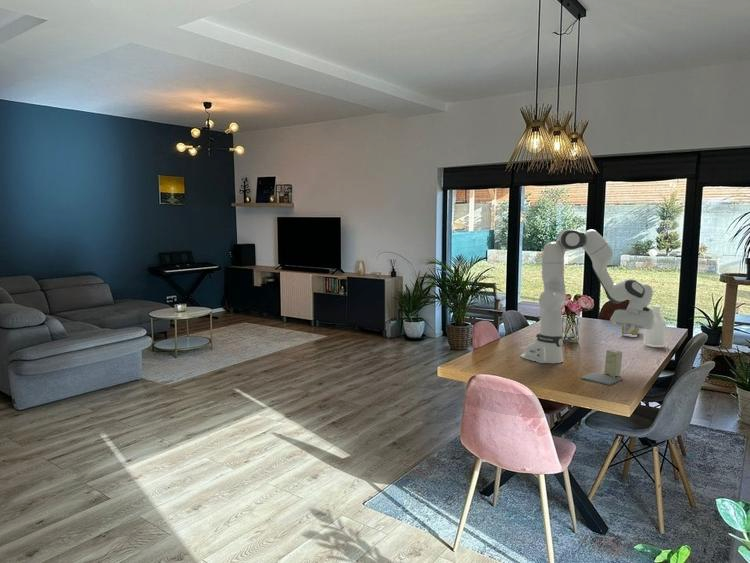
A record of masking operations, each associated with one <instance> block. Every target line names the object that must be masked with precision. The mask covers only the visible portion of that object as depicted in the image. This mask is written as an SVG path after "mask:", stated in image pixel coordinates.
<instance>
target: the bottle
mask: <svg viewBox="0 0 750 563" xmlns="http://www.w3.org/2000/svg"><path fill="white" fill-rule="evenodd" d="M651 309H652V311H653V313H654V317H655V318H654V324H653V327H652V329H650V330H649V329H643V343H646V344H652V345H663V344H664V345H665V340H666V329H667V320H666V319H665V318H664V317H663V315H662V314H661V312H660V311H661V305H656V304H655V305H654V304H653V305H652V306H651Z"/></svg>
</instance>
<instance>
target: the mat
mask: <svg viewBox="0 0 750 563" xmlns="http://www.w3.org/2000/svg"><path fill="white" fill-rule="evenodd" d="M580 378H581V379H580V380H583V379H585V380H584V381H588V380H589V382H592V381H594V382H593V383H596V382H598V383H597V384H601V383H602V384H601V385H605V384H607V385H606V386H609V385H610V386H612V385H615V384H617V383H619V382H621V381H620V380H622V379H623V380H624V378H623V377H620V376H617V377H614V376H610V375H607V374H605V373H599V372H595V371H593V372H591V373H588V374H586V375H583V376H580ZM623 380H622V381H623ZM618 381H619V382H618ZM616 382H617V383H616ZM614 383H615V384H614ZM611 384H612V385H611Z"/></svg>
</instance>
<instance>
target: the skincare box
mask: <svg viewBox="0 0 750 563" xmlns="http://www.w3.org/2000/svg"><path fill="white" fill-rule="evenodd" d="M622 358H623V351H621V350H616V349H613V348H611V349H606V354H605V364H604V374H605V375H607V374H609V376H610V375H612V376H617V377H621V370H622Z"/></svg>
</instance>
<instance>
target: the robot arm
mask: <svg viewBox="0 0 750 563" xmlns="http://www.w3.org/2000/svg"><path fill="white" fill-rule="evenodd" d="M579 248H581V249H583V250H584V251H585V252H586V254H587V255H588V256H589V258H590V260H591V263H592V264H591V267H592V270H593V272H594V274H595V276H596V277H597V279H598V281H599V283H600V285H601V287H602V288H603V290H604V293H605V295H606V298H607V299H608V300H609V302H611V303H613V304H621V303H623V302H625V301H627V300H628V301H629V303H628V305H627V307H626V309H620V308H618V309H615V310H614V312H613V313H612V315H611V317H610V318H609V319H610V323H611V324H612V325H613V326H614V325H616V326H621V327H622V326H624V333H631V331H632V330H634V329H635V328H639V329H643V330H644V329H649V330H650V329H652V327H653V324H654V318H655V317H654V313H653V308H650V307H649V305H650V303H651V300H652V298H653V293H654V291H653V289H652V287H651V285H649V284H648V283H645V282H643V283H641V282H638V281H637V280H636V279H634V278H628V279H625V280H623V281H620V282H618V283H615V282H614V281H613V279H612V277H611V275H610V274H609V272H608V270H607V269H608V268H607V267H608V265H609V264H610V262H611V260H612V258H613V253H614V252H613V249H612V247H611V246H610V244H609V243H608V242H607V241H606V239H605V238H604V237H603V236H602V235H601V234H600V233H599V232H598V231H597V230H596V229H592V228H591V229H588V230H587V229H586V230H585V231H583V232H582V231H580V230H578V229H575V228H565V229H563V230H561V231H560V232H559V233H558V235H557V236H556V238H555V239H554V241H549V242H547V243H545V244H544V246H543V250H542V258H541V262H542V263H541V278H542V283H543V289H544V290H543V292H541V294H540V296H539V299H538V303H539V313H540V314H539V315H540V329H539V330H540V331H539V333H537V334H536V335H535V338H536V340H534V341H532V342H530V344H528V345H527V346H526V347H525V351H524V353H522V354H520V358H522V359H526V360H529V361H532V362H535V361H536V362H535V363H539V364H561V362H562V363H564V358H563V351H562V350H563V349H562V346H563V335H562V334H563V333H562V332H563V331H562V330H563V318H562V306H564V304H565V302H566V299H567V294H566V285H565V254H566V252H567V251H568V250H569V251H570V250H571V251H573V250H574V251H575V250H576V249H579ZM627 327H631V328H629V329H628V328H627Z"/></svg>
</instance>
